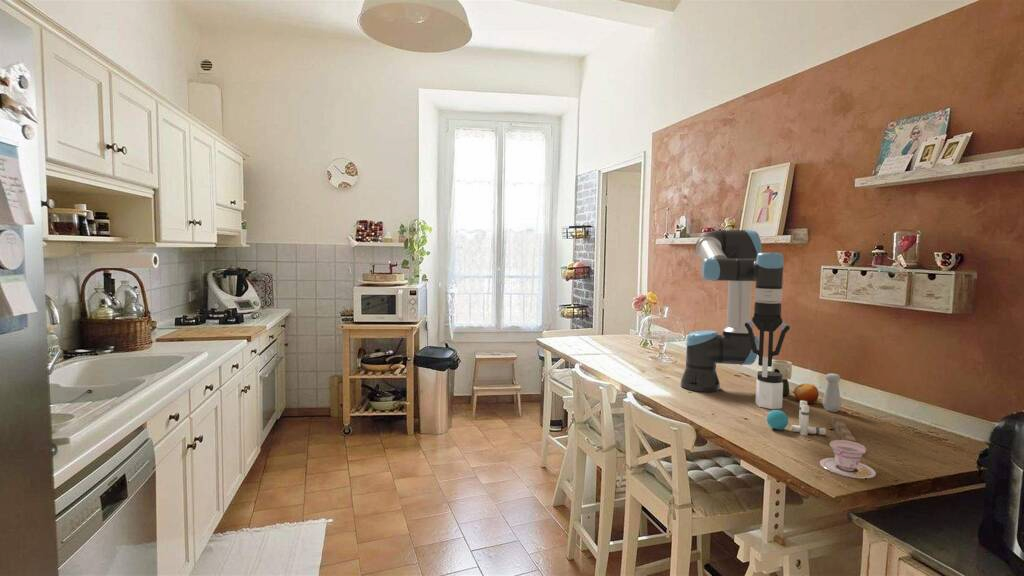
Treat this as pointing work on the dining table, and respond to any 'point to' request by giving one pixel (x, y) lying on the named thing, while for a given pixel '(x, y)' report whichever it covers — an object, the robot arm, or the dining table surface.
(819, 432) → the front pin
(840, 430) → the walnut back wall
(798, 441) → the dining table surface
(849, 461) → the teacup
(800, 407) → the pin
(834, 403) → the salt shaker
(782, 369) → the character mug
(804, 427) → the pin
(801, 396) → the fruit
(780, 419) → the teal ball
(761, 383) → the jar
